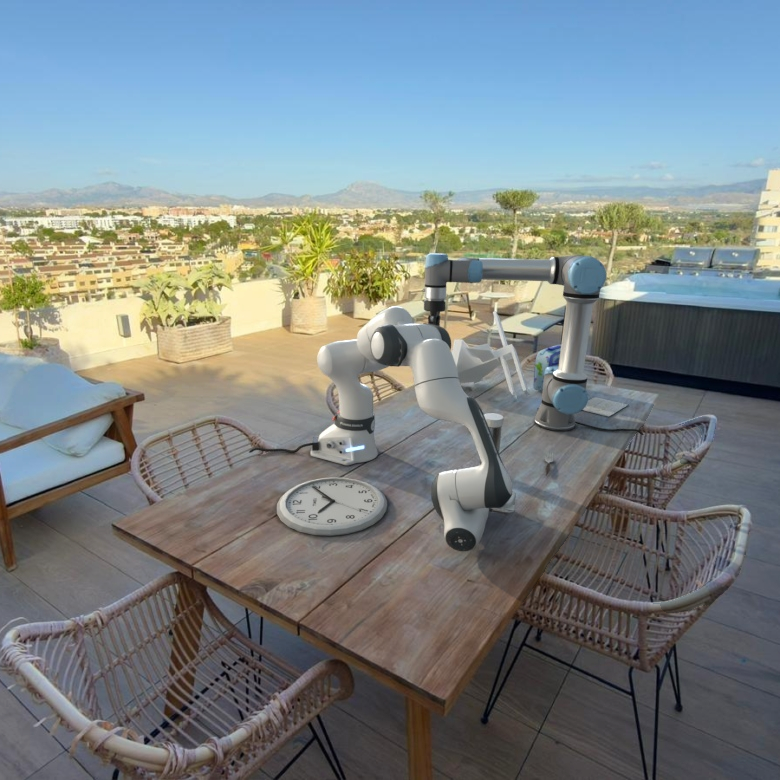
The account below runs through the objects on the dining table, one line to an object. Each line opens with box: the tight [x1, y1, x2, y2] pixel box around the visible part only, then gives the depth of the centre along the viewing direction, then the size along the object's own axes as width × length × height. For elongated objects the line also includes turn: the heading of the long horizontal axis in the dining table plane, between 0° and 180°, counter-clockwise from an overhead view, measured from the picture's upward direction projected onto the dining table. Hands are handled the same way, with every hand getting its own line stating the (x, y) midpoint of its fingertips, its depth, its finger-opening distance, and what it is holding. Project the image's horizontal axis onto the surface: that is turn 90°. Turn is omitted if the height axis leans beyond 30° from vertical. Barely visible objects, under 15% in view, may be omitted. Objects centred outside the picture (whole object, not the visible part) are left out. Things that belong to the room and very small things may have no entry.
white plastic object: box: [451, 310, 531, 400], centre depth 245 cm, size 37×45×31 cm
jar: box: [479, 425, 503, 465], centre depth 160 cm, size 5×5×19 cm
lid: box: [483, 412, 504, 428], centre depth 157 cm, size 6×6×2 cm
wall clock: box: [276, 476, 388, 537], centre depth 142 cm, size 30×2×30 cm
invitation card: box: [582, 396, 629, 418], centre depth 226 cm, size 21×1×15 cm
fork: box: [544, 451, 555, 476], centre depth 168 cm, size 3×16×2 cm, turn 160°
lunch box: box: [533, 344, 561, 392], centre depth 247 cm, size 26×11×21 cm, turn 134°
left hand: (480, 482), depth 145 cm, fingers open, 8 cm apart
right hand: (432, 358), depth 188 cm, fingers open, 13 cm apart
